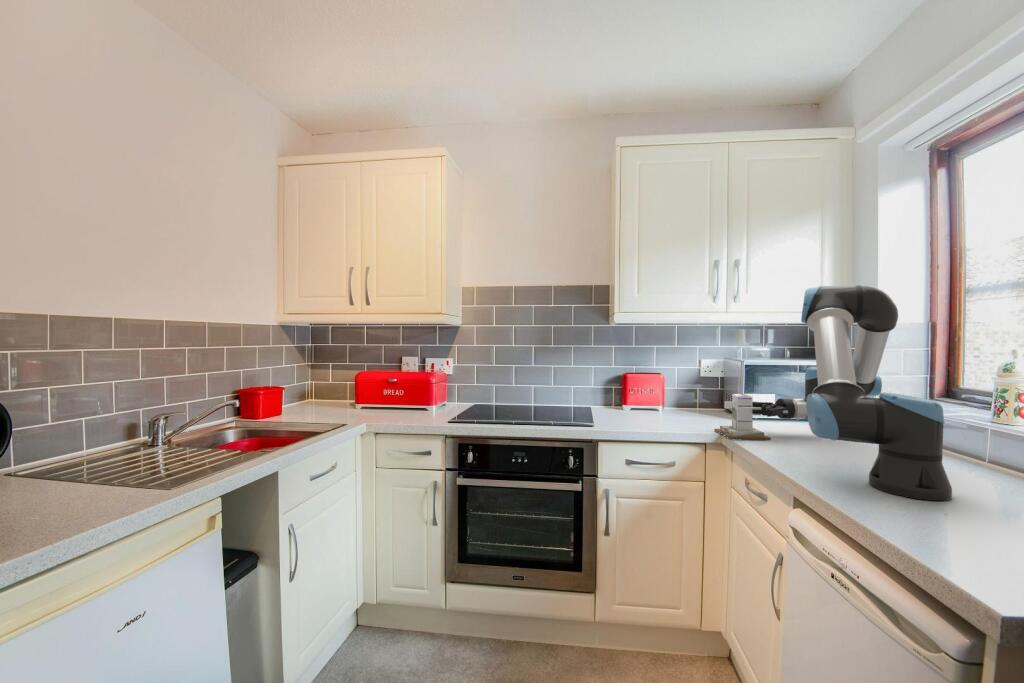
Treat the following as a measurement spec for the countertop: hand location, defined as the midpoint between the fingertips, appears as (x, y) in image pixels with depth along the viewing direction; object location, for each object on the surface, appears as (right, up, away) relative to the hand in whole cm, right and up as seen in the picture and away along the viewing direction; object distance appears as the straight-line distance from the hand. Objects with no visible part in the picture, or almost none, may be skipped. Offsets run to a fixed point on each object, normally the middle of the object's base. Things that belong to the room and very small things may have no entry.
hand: (733, 407), depth 163 cm
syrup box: (+3, -10, 0) cm, 10 cm away
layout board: (+3, -11, 0) cm, 11 cm away
